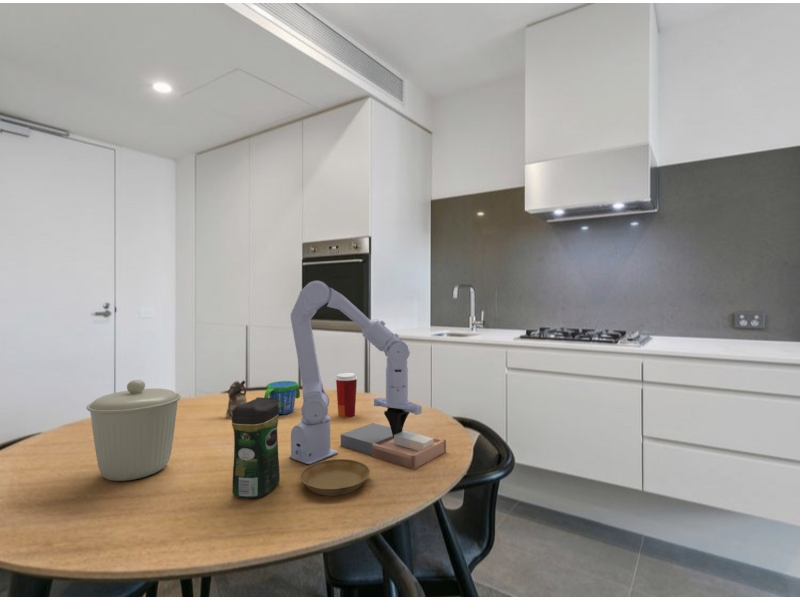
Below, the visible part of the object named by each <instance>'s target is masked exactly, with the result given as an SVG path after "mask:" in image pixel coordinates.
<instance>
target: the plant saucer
mask: <svg viewBox="0 0 800 600" xmlns="http://www.w3.org/2000/svg"><path fill="white" fill-rule="evenodd" d="M370 474H371V470H370V468H369V466H368V465H366V464H365V463H364V462H361V461H359V460H354V459H345V458H343V459H342V458H338V459H337V458H334V459H327V460H320V461H317V462H315V463H312V464H309V465H308V466H307V467H305V468H304V469H303V470H301V472H300V474H299V478H300V480H301V482H302V483H303V485H305V487H306V488H307V489H308V490H310V491H311V492H313V493H315V494H316V495H321V496H326V497H328V496H329V497H331V496H332V497H336V496H343V495H346V494H349V493H352V492H354V491H356V490H357V489H359V488H360V487H361V486H362V485H363V484H364V483H365V482H366V481H367V479H368V477H369V476H370Z"/></svg>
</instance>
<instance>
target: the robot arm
mask: <svg viewBox="0 0 800 600" xmlns="http://www.w3.org/2000/svg"><path fill="white" fill-rule="evenodd" d="M326 304H327V306H326V307H327V308H331V309H335V310H338V311H340V313H342V314H343V315H345V316H346V317H348V318H349V320H351V321H352V322H354V323H355V324H356V325H357V326H359V327H360V328H361V332H362V333H361V334H362V337H363V338H365V339H366V340H367V341H368V342H369V343H370V344H372V345H373V346H374V347H375V348H376V349H377V350H378V351H380V352H384V355H385V356H386V357H387V358H386V368H385V397H376V398H374V399H373V406H374V407H383V408H387V409H386V410H384V412H383V413H384V416H385V418H386V419H387V422H388V423H389V427H391V431H392V435H393V438H394V435H395V434H398V433H400V432H402V430H403V429H404V427H405V422H406V420H407V418H408V416H409V414H410V413H411V414H414V415H415V416H416V415H420V414H423V413H422V408H423V406H422V405H421V404H417V403H413V402H412V401H409V399H408V398H409V395H408V394H409V387H408V386H409V385H408V381H409V375H408V374H409V373H408V370H409V369H408V359H409V357H410V353H411V352H410V349H409V346H408V345H407V344H406V343H405V342H404V341H403V340H402V339H401V338H399V334H398V333H394V332H393V331H391V330H390V329H389V328H388V327H387V326H386V322H384V320H379V319H378V318H374V319H370V318H369V317H367V315H365V314H364V313H363V312H362V311H361V310H360V309H359V308H358V307H357V306H356V305H354V304H353V303H352V302H351V301H350V300H349V299H348V298H347V297H346V296H344V295H343V294H342V293H341V292H338V291H337V290H335V289H334V288H332V287H329V286H328V284H326V283H325V282H324V281H321V280H313V281H310V282H308V283H307V284H306V285H305V286H304V287H303V288H302V289H301V291H299V294H298V297H297V300H296V302H295V304H294V306H293V309H292V310H291V312H290V322H291V328H292V332H293V339H294V340H293V341H294V344H295V350H296V355H297V361H298V366H299V372H300V378H301V379H300V380H301V383H302V400H303V402H302V406H301V409H300V411H301V415H302V416H301V419H300V420H301V421H300V422H299V423H298V424H297V425H294V426H293V428H292V429H291V432H290V454H289V455H288V457H289V458H290V459H293V460H295V461H298V462H301V463H303V464H305V465H312V464H315V463H318V462H321V461H323V460H325V459H327V458H330V457H331V456H334V455H336V454H338V450H336V449H332V448H331V416H330V415H329V414H328V411H329V410H328V407H329V406H330V398H329V396H328V394H327V393H326V391H325V390H324V385H323V381H322V379H321V373H320V368H319V367H320V366H319V362H318V355H317V351H316V346H315V345H316V344H315V339H314V333H313V329H312V328H313V327H312V322H311V320H312V318H313V317H314V316H315V314H316V313H317V312H318V310H319V309H321V308H322V307H324V306H325V305H326Z"/></svg>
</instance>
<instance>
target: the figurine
mask: <svg viewBox="0 0 800 600" xmlns="http://www.w3.org/2000/svg"><path fill="white" fill-rule="evenodd" d="M245 384H246V380H242V381H241V382H239V380H235V381H234V382H232V383H231V384H230V386H229V389H228V391H227V392H226V393H228V404H227V409H226V413H225V417H226V418H227V417H229V418H228V419H230V418H232V410H233V409H234V408H236V407H237V406H239V405H242V404H245V403H247V402H248V401H247V397H246V394H247V388H246V387H245ZM242 390H243V391H244V392H242Z"/></svg>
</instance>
